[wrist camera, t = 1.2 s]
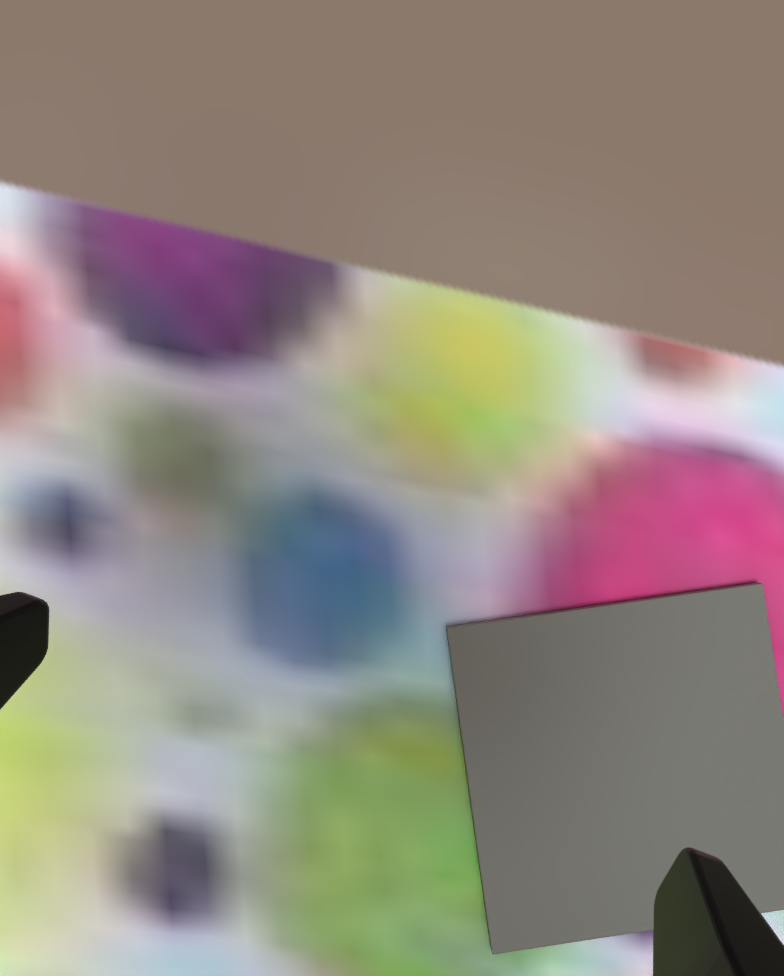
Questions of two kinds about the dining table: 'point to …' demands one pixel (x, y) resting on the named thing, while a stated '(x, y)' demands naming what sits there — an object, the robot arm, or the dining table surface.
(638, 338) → the dining table surface
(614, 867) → the mat
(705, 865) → the robot arm
